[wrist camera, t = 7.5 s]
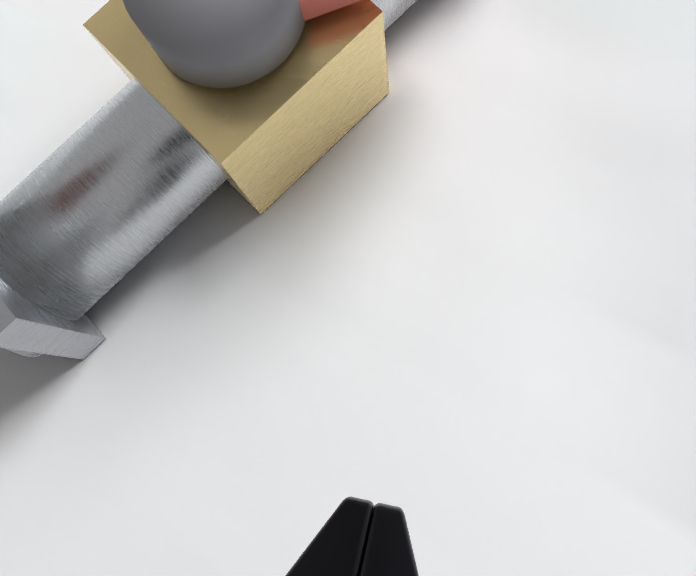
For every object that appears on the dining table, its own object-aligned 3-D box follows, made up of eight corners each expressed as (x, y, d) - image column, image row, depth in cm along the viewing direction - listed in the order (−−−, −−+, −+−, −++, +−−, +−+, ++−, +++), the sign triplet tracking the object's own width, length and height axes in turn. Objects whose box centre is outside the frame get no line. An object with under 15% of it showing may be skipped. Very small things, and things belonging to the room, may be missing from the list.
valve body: (82, 383, 21) (-15, 376, 16) (-23, 257, 22) (-142, 216, 17) (553, -64, 22) (591, -193, 17) (429, -160, 23) (433, -304, 18)
